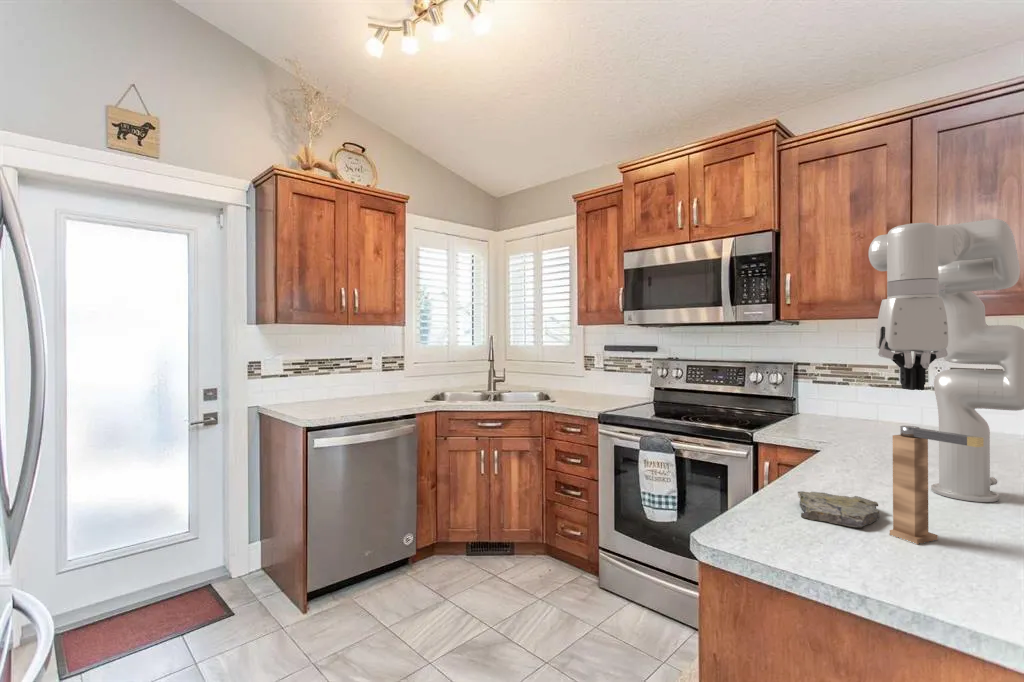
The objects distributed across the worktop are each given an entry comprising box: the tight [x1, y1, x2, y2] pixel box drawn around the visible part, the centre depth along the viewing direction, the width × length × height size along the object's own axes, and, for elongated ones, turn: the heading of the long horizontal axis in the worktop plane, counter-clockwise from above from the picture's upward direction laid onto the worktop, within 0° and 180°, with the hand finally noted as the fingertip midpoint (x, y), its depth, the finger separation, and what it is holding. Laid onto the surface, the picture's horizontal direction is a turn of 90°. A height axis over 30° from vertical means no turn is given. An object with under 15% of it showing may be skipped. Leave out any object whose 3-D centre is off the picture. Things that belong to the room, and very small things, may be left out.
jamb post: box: [889, 434, 939, 545], centre depth 99 cm, size 6×5×20 cm
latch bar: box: [899, 425, 984, 447], centre depth 95 cm, size 13×3×2 cm, turn 20°
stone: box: [797, 490, 880, 528], centre depth 112 cm, size 18×15×4 cm
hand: (912, 388), depth 93 cm, fingers closed
